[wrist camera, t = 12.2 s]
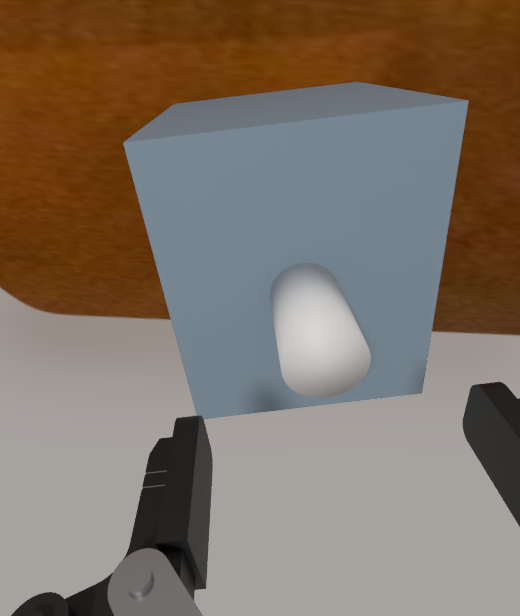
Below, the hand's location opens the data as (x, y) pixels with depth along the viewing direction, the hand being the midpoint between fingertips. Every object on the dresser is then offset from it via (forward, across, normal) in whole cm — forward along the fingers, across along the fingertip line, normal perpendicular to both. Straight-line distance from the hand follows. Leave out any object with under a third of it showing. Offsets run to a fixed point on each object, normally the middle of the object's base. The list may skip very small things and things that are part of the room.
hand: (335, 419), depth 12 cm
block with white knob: (+22, 0, 0) cm, 23 cm away
